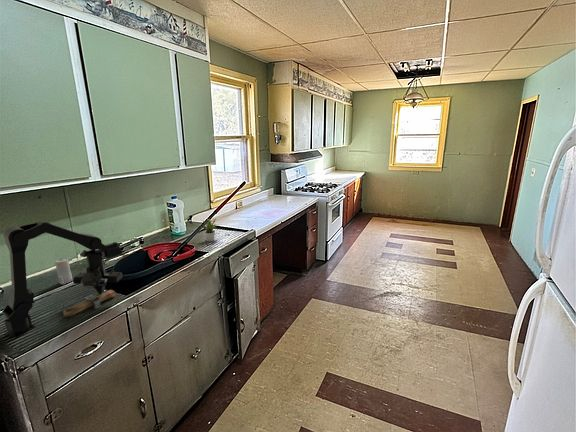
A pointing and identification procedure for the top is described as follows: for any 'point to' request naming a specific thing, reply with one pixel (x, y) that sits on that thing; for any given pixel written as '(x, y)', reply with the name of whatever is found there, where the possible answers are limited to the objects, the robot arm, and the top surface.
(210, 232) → the house plant
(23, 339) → the top surface
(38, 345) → the top surface
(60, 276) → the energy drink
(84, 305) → the brown long rod
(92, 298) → the keeper
